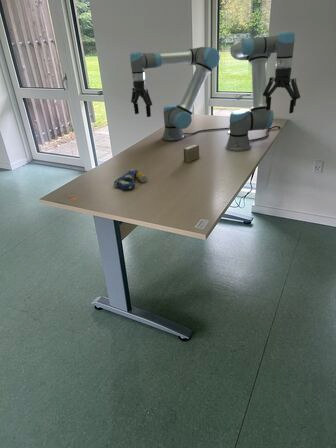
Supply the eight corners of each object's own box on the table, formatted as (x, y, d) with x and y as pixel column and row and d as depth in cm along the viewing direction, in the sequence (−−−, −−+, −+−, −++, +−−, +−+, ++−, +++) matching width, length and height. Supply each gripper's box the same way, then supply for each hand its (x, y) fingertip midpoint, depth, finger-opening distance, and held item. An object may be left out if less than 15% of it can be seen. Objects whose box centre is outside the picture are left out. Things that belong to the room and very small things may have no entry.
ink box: (195, 156, 211) (194, 143, 207) (199, 158, 209) (199, 145, 204) (183, 161, 206) (182, 148, 202) (187, 162, 203) (187, 149, 199)
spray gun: (153, 176, 189) (130, 173, 195) (152, 169, 186) (129, 167, 193) (134, 192, 173) (110, 189, 180) (133, 185, 171) (109, 182, 177)
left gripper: (123, 79, 214) (127, 113, 225) (145, 82, 197) (149, 119, 208) (132, 78, 218) (136, 111, 229) (155, 80, 200) (158, 116, 211)
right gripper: (257, 67, 172) (255, 110, 183) (303, 69, 155) (297, 115, 166) (266, 65, 176) (263, 107, 187) (311, 67, 159) (305, 112, 170)
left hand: (142, 115), depth 218 cm, fingers open, 13 cm apart
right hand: (279, 111), depth 176 cm, fingers open, 13 cm apart
